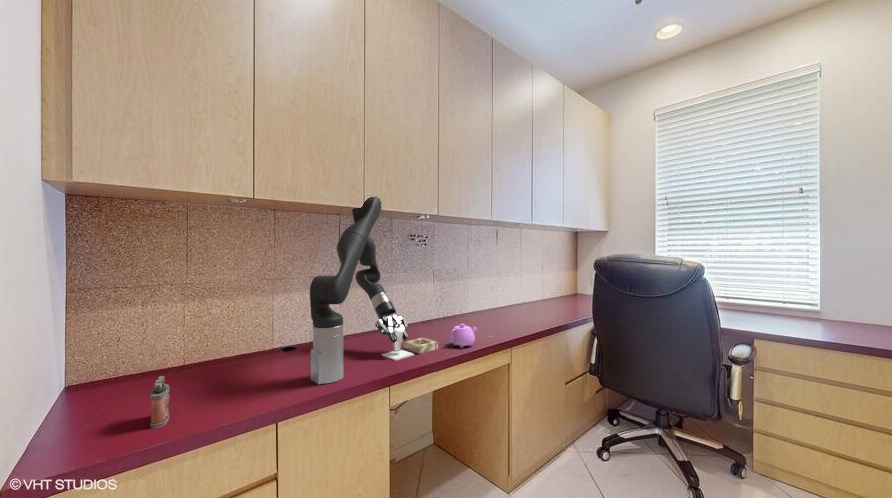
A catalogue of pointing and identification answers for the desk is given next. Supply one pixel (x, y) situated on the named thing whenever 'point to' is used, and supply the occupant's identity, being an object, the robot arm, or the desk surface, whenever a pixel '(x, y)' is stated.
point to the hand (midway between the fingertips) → (400, 340)
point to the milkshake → (398, 339)
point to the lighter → (159, 403)
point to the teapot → (463, 335)
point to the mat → (397, 355)
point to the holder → (421, 345)
